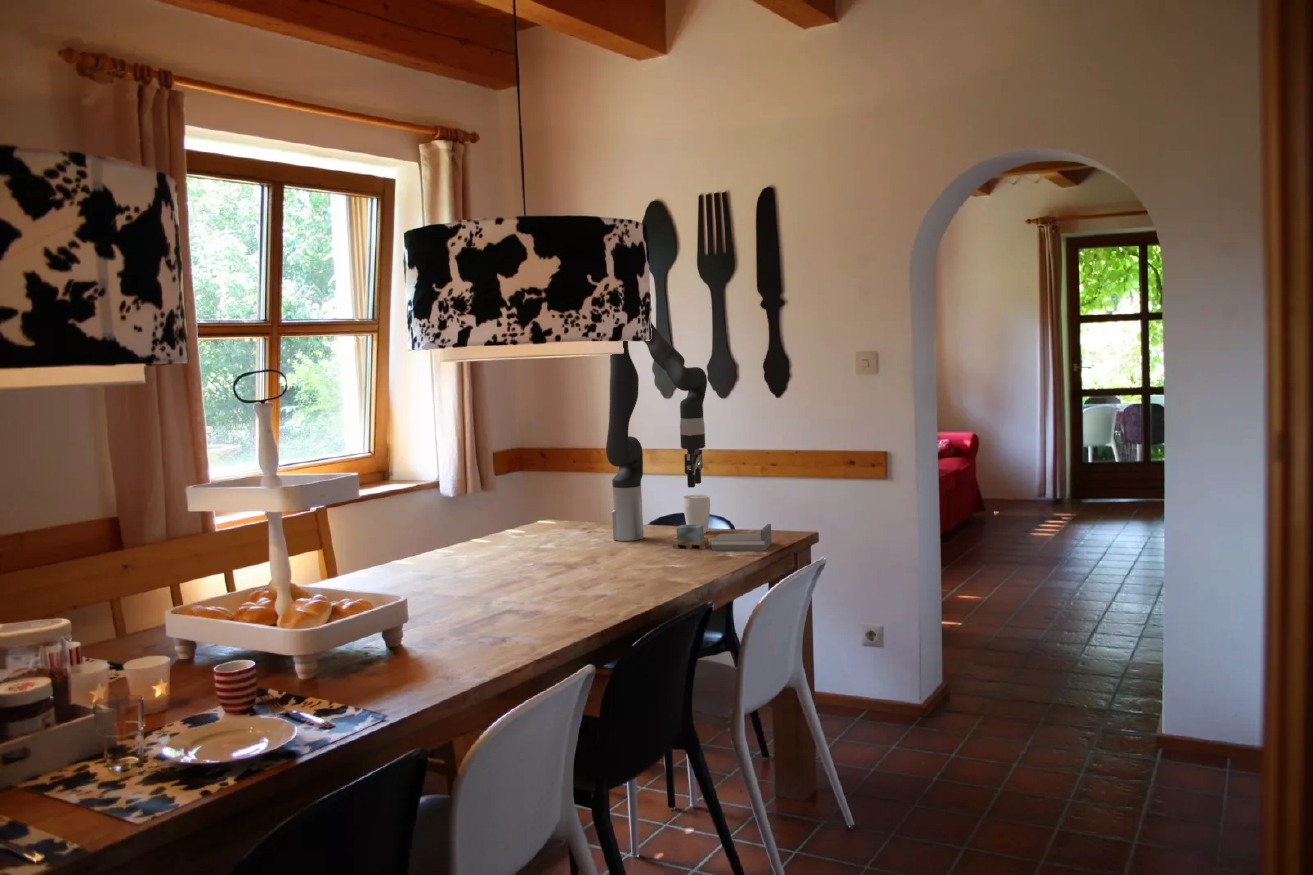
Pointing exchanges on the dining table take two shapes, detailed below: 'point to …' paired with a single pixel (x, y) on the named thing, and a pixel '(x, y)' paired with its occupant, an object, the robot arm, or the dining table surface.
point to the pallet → (691, 543)
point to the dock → (743, 541)
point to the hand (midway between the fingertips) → (694, 485)
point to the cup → (697, 510)
